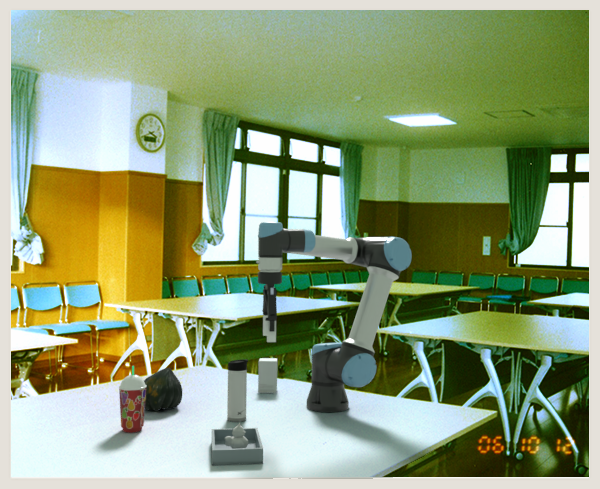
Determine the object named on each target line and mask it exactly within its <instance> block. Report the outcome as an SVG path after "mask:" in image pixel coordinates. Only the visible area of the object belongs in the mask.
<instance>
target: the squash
mask: <svg viewBox="0 0 600 489" xmlns="http://www.w3.org/2000/svg"><path fill="white" fill-rule="evenodd" d="M143 380H144V382H145V385H147V387H146V400H145V411H146V410H147V411H151V412H153V411H155V412H157V411H159V410H167V409H170V410H171V409H175V408H177V407H178V406H180V404H181V403H182V399H183V387H182V384H181V382H180V381H181V380H179V378H178V377H177V375H176V374H175V373H174V372H173V370H172V369H171V367H165V368H163V369H160V370H158V371H157V372H155V373H153V374H151V375H150V376H148V377H146V378H145V379H143Z"/></svg>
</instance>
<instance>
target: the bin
mask: <svg viewBox="0 0 600 489" xmlns="http://www.w3.org/2000/svg"><path fill="white" fill-rule="evenodd" d="M233 429H234V428H212V429H211V463H212V464H211V465H212V466H231V465H237V466H238V465H260V464H262V465H263V464H264V447H263V444H262V443H263V442H262V439H261V435H260V432H259V429H258V427H243V430H244V431H245V432H246V433H244V434H245V435H244V437H246V438H247V440H248V445H247V447H246V448H240V449H232V448H231V446H226V445H225V443H226V441H225V437H227V436H231V437H233V434H232V432H233Z"/></svg>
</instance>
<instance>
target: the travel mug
mask: <svg viewBox="0 0 600 489" xmlns="http://www.w3.org/2000/svg"><path fill="white" fill-rule="evenodd" d="M248 363H249V359H246V358H245V359H235V360H231V361H228V366H227V404H226V405H227V411H226V412H227V416H226V418H227V420H228V422H232V423H233V422H234V423H241V422H245V421H246V420H247V394H248V393H247V390H248V389H247V388H248V386H247V384H248V383H247V381H248V379H247V378H248V377H247V375H248V372H247V371H248V369H247V367H248V365H247V364H248Z"/></svg>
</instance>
